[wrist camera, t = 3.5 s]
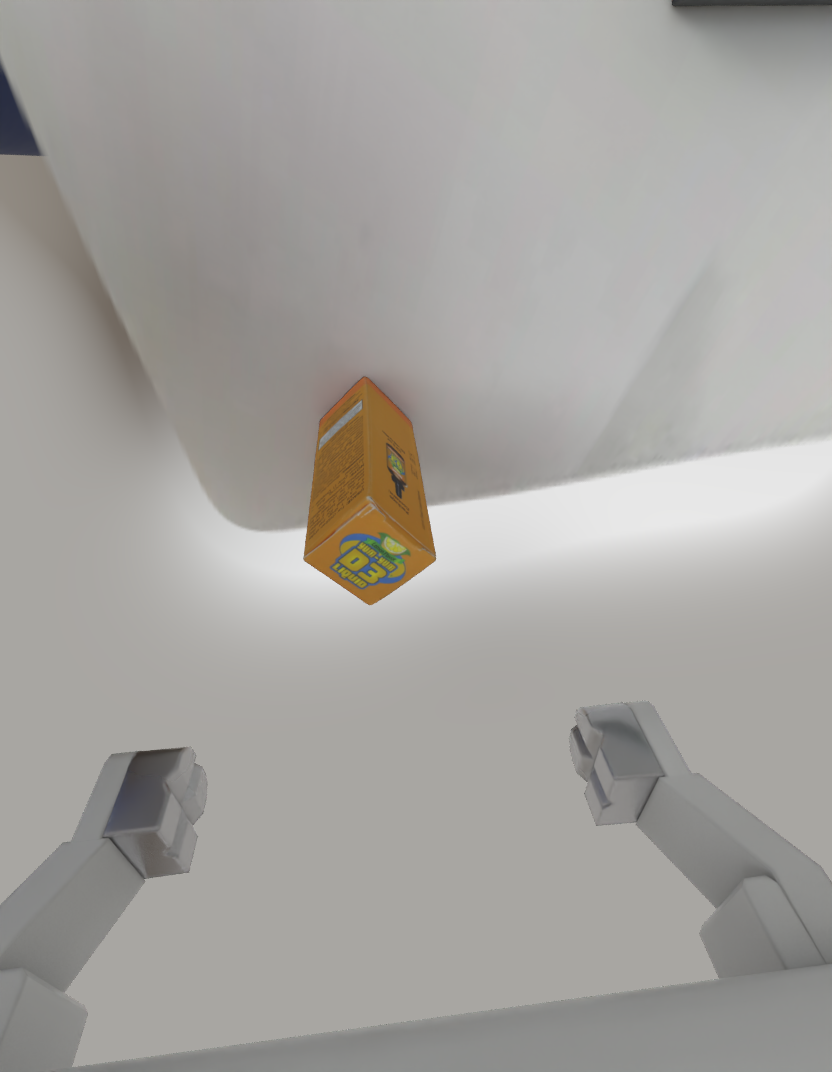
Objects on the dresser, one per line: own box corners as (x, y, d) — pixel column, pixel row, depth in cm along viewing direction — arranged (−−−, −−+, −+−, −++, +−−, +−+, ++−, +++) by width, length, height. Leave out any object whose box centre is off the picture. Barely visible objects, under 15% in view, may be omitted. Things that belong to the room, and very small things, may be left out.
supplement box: (311, 423, 23) (292, 559, 15) (365, 372, 22) (375, 489, 14) (362, 469, 25) (370, 613, 17) (415, 423, 24) (450, 555, 16)
